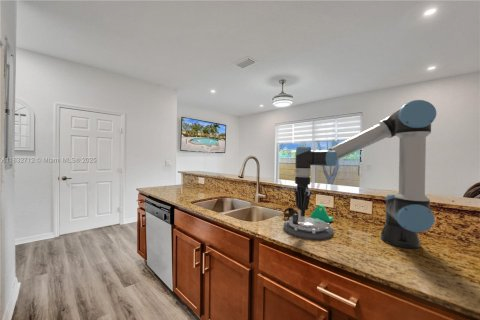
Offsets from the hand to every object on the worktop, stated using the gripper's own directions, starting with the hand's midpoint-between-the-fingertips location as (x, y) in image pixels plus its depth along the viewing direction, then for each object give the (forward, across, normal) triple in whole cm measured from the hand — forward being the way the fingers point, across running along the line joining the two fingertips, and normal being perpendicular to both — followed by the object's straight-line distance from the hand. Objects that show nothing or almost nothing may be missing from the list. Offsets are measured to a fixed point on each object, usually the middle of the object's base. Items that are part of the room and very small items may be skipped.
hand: (301, 221), depth 105 cm
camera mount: (+7, -22, +28) cm, 36 cm away
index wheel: (+5, -6, +8) cm, 11 cm away
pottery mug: (+7, -30, +10) cm, 32 cm away
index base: (+7, -6, +8) cm, 12 cm away
